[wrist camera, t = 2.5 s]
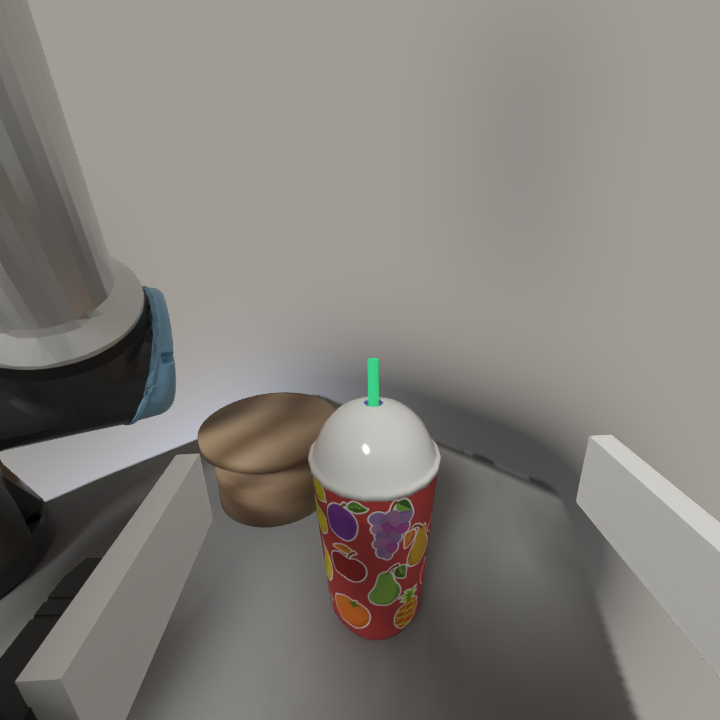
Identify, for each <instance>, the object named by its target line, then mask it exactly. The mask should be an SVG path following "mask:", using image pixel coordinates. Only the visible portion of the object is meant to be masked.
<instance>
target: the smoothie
mask: <svg viewBox="0 0 720 720" xmlns="http://www.w3.org/2000/svg"><path fill="white" fill-rule="evenodd" d="M440 461H441V455H440V452H439V449H438V446H437V444H436V443H435V442H434V441H433V440H432V438H431V437H430V434H429V432H428V430H427V428H426V426H425V424H424V423H423V422H422V421H421V419H420V418H419V417H418V416H417V415H416V413H415V412H414V411H413V410H411V409H410V408H409V407H408V406H406V405H404V404H402V403H400V402H399V401H397V400H394V399H391V398H388V397H383V396H379V360H378V359H377V358H369V359H368V396H365V397H360V398H356V399H353V400H351V401H349V402H347V403H345V404H344V405H342V406H340V407H339V408H338V409H336V410H335V411H334V412H333V413H332V414H331V416H330V417H329V418H328V419H327V421H326V422H325V423H324V425H323V426H322V428H321V430H320V432H319V434H318V437H317V439H316V440H315V442H314V443H313V444H312V445H311V447H310V451H309V456H308V462H309V466H310V469H311V477H312V484H313V490H314V496H315V503H316V509H317V515H318V522H319V528H320V534H321V541H322V547H323V554H324V560H325V566H326V573H327V579H328V585H329V592H330V599H331V602H332V605H333V608H334V612H335V613H336V614H337V616H338V617H339V618H340V620H341V621H342V623H343V624H345V625H346V626H347V627H348V628H349V629H350V630H351V631H352V632H354V633H355V634H357V635H358V636H360V637H363V638H367V639H370V640H383V639H387V638H390V637H392V636H395V635H397V634H398V633H399V632H400V631H401V630H402V629H404V628H405V627H406V625H407V624H409V623H410V622H411V621H412V620H413V618H414V616H415V614H416V613H417V611H418V609H419V606H420V599H421V592H422V584H423V577H424V570H425V562H426V555H427V548H428V540H429V533H430V526H431V518H432V511H433V504H434V496H435V489H436V482H437V474H438V469H439V465H440Z"/></svg>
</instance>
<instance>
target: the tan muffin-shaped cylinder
mask: <svg viewBox="0 0 720 720" xmlns="http://www.w3.org/2000/svg"><path fill="white" fill-rule="evenodd" d="M334 411H335V409H334V407H333V406H332V405H331V404H329V403H328V402H326V401H325V400H323V399H320V398H318V397H315V396H311V395H307V394H300V393H287V392H285V393H269V394H262V395H257V396H253V397H249V398H245V399H242V400H239V401H236V402H233V403H231V404H229V405H227V406H225V407H223V408H221V409H219V410H218V411H216V412H215V413H213V414H212V415H211V416H209V417H208V418H207V419H206V420H205V421H204V423H203V424H202V425H201V427H200V429H199V431H198V444H199V449H200V452H201V454H202V456H203V457H204V459H205V460H207V461H208V462H209V463H210V464H212V465H214V467H215V472H216V478H217V483H218V488H219V494H220V499H221V504H222V507H223V509H224V511H225V512H226V513H227V514H228V515H229V516H230V517H231V518H232V519H234V520H235V521H237V522H239V523H242V524H245V525H249V526H254V527H274V526H281V525H285V524H289V523H292V522H295V521H297V520H300V519H302V518H304V517H306V516H308V515H310V514H311V513H312V512H314V511H315V510H317V509H316V503H315V496H314V490H313V484H312V477H311V469H310V466H309V462H308V456H309V451H310V447H311V445H312V444H313V443H314V442H315V440H316V439H317V437H318V434H319V432H320V430H321V428H322V426H323V425H324V423H325V422H326V421H327V419H328V418H329V417H330V416H331V414H332V413H333V412H334Z"/></svg>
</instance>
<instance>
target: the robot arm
mask: <svg viewBox="0 0 720 720" xmlns="http://www.w3.org/2000/svg"><path fill="white" fill-rule="evenodd" d="M175 377H176V374H175V362H174V357H173V340H172V332H171V325H170V319H169V314H168V309H167V305H166V301H165V298H164V296H163V294H162V292H161V291H159V290H158V289H156V288H148V287H146V286H141V284H140V282H139V280H138V278H137V277H136V275H135V274H134V273H133V271H132V270H130V269H129V268H128V267H127V266H126V265H124V264H123V263H122V262H120V261H118V260H116V259H114V258H112V257H110V256H109V254H108V251H107V248H106V245H105V242H104V239H103V235H102V233H101V229H100V226H99V223H98V220H97V217H96V214H95V210H94V207H93V204H92V201H91V198H90V195H89V192H88V189H87V186H86V182H85V179H84V176H83V173H82V170H81V167H80V164H79V160H78V157H77V154H76V151H75V148H74V145H73V142H72V139H71V136H70V132H69V130H68V126H67V123H66V120H65V117H64V114H63V111H62V107H61V105H60V101H59V98H58V95H57V92H56V89H55V86H54V83H53V79H52V76H51V73H50V70H49V67H48V64H47V61H46V58H45V54H44V51H43V48H42V45H41V42H40V39H39V36H38V33H37V29H36V26H35V23H34V20H33V17H32V14H31V11H30V8H29V4H28V1H27V0H0V451H4V450H8V449H13V448H17V447H21V446H26V445H31V444H35V443H40V442H44V441H49V440H53V439H57V438H62V437H67V436H71V435H75V434H80V433H84V432H89V431H93V430H98V429H103V428H108V427H113V426H118V425H122V424H123V425H131V424H133V423H135V422H137V421H138V420H141V419H145V418H148V417H152V416H156V415H159V414H162V413H163V412H165V411H167V410H168V409H169V408H170V407H171V405H172V404H173V401H174V398H175V390H176V378H175ZM576 502H577V503H578V505H579V506H580V507H581V508H582V510H583V511H584V512H585V513H586V515H587V516H588V517H589V518H590V519H591V521H592V522H593V523H594V524H595V525H596V527H597V528H598V529H599V530H600V532H601V533H602V534H603V535H604V537H605V538H606V539H607V540H608V542H609V543H610V544H611V545H612V546H613V548H614V549H615V550H616V551H617V553H618V554H619V555H620V556H621V557H622V559H623V560H624V561H625V562H626V564H627V565H628V566H629V567H630V569H631V570H632V571H633V572H634V573H635V574H636V576H637V577H638V578H639V579H640V581H641V582H642V583H643V584H644V586H645V587H646V588H647V589H648V591H649V592H650V593H651V594H652V595H653V597H654V598H655V599H656V600H657V602H658V603H659V604H660V605H661V606H662V608H663V609H664V610H665V611H666V613H667V614H668V615H669V616H670V618H671V619H672V620H673V621H674V622H675V624H676V625H677V626H678V627H679V628H680V630H681V631H682V632H683V633H684V635H685V636H686V637H687V638H688V639H689V641H690V642H691V643H692V645H693V646H694V647H695V648H696V649H697V651H698V652H699V653H700V654H701V656H702V657H703V658H704V659H705V660H706V662H707V663H708V664H709V665H710V667H711V668H712V669H713V670H714V672H715V673H716V674H717V675H718V676H719V678H720V523H719V522H718V521H717V520H715V519H714V518H713V517H712V516H711V515H709V514H708V513H707V512H706V511H704V510H703V509H702V508H701V507H700V506H698V505H697V504H696V503H695V502H694V501H692V500H691V499H690V498H689V497H687V496H686V495H685V494H683V493H682V492H681V491H680V490H679V489H677V488H676V487H675V486H674V485H672V484H671V483H670V482H669V481H668V480H666V479H665V478H664V477H663V476H662V475H660V474H659V473H658V472H657V471H655V470H654V469H653V468H651V467H650V466H649V465H648V464H647V463H646V462H644V461H643V460H642V459H640V458H639V457H638V456H637V455H635V454H634V453H633V452H632V451H631V450H629V449H628V448H627V447H626V446H625V445H623V444H622V443H621V442H620V441H618V440H617V439H616V438H615V437H614V436H612V435H600V436H589V441H588V445H587V450H586V456H585V460H584V465H583V470H582V475H581V480H580V484H579V489H578V494H577V499H576ZM212 521H213V516H212V512H211V507H210V502H209V497H208V492H207V487H206V482H205V477H204V472H203V467H202V462H201V458H200V454H181V455H176V456H175V457H174V459H173V460H172V461H171V463H170V464H169V466H168V467H167V469H166V470H165V471H164V473H163V474H162V476H161V477H160V478H159V480H158V481H157V483H156V484H155V485H154V487H153V488H152V490H151V491H150V492H149V494H148V495H147V497H146V498H145V499H144V501H143V502H142V504H141V505H140V506H139V508H138V509H137V511H136V512H135V513H134V515H133V516H132V518H131V519H130V520H129V522H128V523H127V525H126V526H125V528H124V529H123V530H122V532H121V533H120V535H119V536H118V537H117V539H116V540H115V542H114V543H113V544H112V546H111V547H110V549H109V550H108V551H107V553H106V554H105V556H104V557H103V558H86V559H85V560H84V561H83V562H81V563H80V564H79V565H78V566H77V567H75V568H74V569H73V570H72V571H70V572H69V573H68V574H67V575H66V576H64V578H63V579H62V580H61V581H60V583H59V584H58V585H57V586H56V588H55V589H54V590H53V592H52V593H51V594H50V595H49V597H48V600H47V602H44V603H43V604H42V606H41V607H40V608H39V609H38V611H37V612H36V613H35V615H34V618H33V620H30V621H29V622H28V624H27V625H26V626H25V627H24V629H23V630H22V631H21V632H20V634H19V635H18V636H17V638H16V639H15V640H14V641H13V643H12V644H11V645H10V647H9V648H8V649H7V650H6V652H5V653H4V654H3V655H2V657H1V658H0V720H126V718H127V716H128V713H129V711H130V709H131V707H132V704H133V702H134V700H135V697H136V695H137V693H138V691H139V688H140V686H141V684H142V681H143V679H144V677H145V675H146V672H147V670H148V668H149V665H150V663H151V661H152V659H153V656H154V654H155V652H156V649H157V647H158V645H159V642H160V640H161V638H162V636H163V633H164V631H165V629H166V626H167V624H168V622H169V620H170V617H171V615H172V613H173V610H174V608H175V606H176V604H177V601H178V599H179V597H180V594H181V592H182V590H183V588H184V585H185V583H186V581H187V578H188V576H189V574H190V571H191V569H192V567H193V565H194V562H195V560H196V558H197V555H198V553H199V551H200V549H201V546H202V544H203V542H204V539H205V537H206V535H207V533H208V530H209V528H210V526H211V523H212ZM53 535H54V522H53V519H52V517H51V514H50V512H49V509H48V507H47V505H46V503H45V502H44V500H43V499H42V498H41V497H39V495H37V494H36V493H35V492H34V491H33V490H32V489H31V488H30V487H28V486H27V485H26V484H25V483H24V482H23V481H22V480H20V479H19V478H18V477H17V476H16V475H15V474H14V473H12V472H11V471H10V470H9V469H8V468H7V467H6V466H5V465H3V463H2V462H1V460H0V597H1V596H3V595H4V594H5V593H7V592H8V591H9V590H10V589H11V588H13V587H14V586H15V585H16V584H17V583H18V582H20V581H21V580H22V579H23V578H24V577H25V576H26V575H27V574H28V573H29V572H30V571H31V570H32V569H33V568H34V566H35V565H36V564H37V563H38V562H39V561H40V559H41V558H42V557H43V555H44V554H45V552H46V551H47V549H48V547H49V545H50V544H51V541H52V539H53Z"/></svg>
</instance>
